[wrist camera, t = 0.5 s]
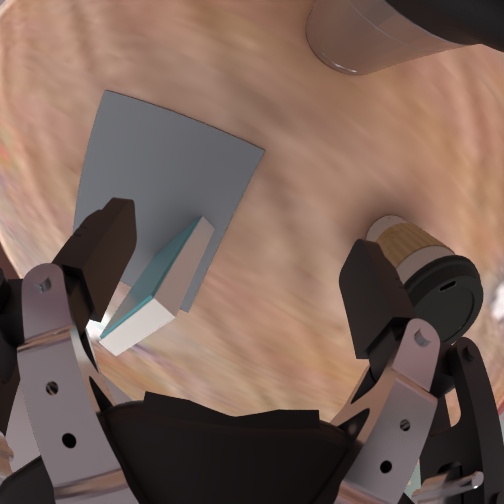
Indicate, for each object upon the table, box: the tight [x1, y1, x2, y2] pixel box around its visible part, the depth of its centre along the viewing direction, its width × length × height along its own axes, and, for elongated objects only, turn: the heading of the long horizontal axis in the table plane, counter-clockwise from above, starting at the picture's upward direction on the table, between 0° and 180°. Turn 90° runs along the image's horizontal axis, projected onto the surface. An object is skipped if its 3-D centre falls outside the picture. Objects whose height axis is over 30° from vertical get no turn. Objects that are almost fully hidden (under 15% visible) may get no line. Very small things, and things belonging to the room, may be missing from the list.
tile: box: [99, 216, 215, 356], centre depth 26 cm, size 2×9×15 cm, turn 129°
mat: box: [72, 90, 265, 313], centre depth 31 cm, size 24×20×1 cm
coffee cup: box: [366, 215, 483, 345], centre depth 24 cm, size 10×10×15 cm
